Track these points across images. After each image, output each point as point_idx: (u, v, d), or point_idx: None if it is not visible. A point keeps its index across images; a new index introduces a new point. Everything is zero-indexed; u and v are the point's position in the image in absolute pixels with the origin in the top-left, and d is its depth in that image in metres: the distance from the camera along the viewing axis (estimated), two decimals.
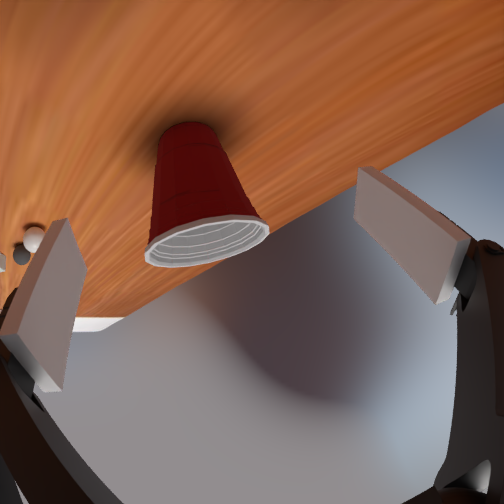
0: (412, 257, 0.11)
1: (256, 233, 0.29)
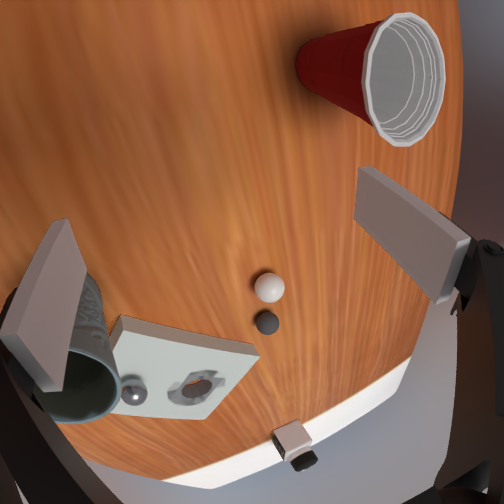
0: (412, 257, 0.11)
1: (433, 52, 0.19)
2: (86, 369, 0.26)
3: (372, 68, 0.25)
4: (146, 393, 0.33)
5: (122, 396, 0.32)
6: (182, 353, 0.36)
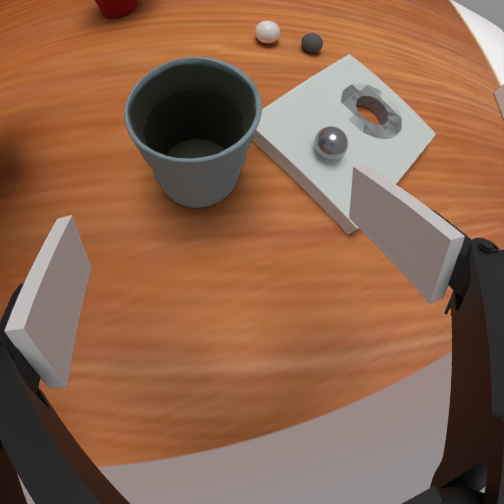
0: (406, 256, 0.11)
1: None
2: (241, 133, 0.27)
3: None
4: (331, 126, 0.30)
5: (326, 148, 0.29)
6: (306, 94, 0.33)
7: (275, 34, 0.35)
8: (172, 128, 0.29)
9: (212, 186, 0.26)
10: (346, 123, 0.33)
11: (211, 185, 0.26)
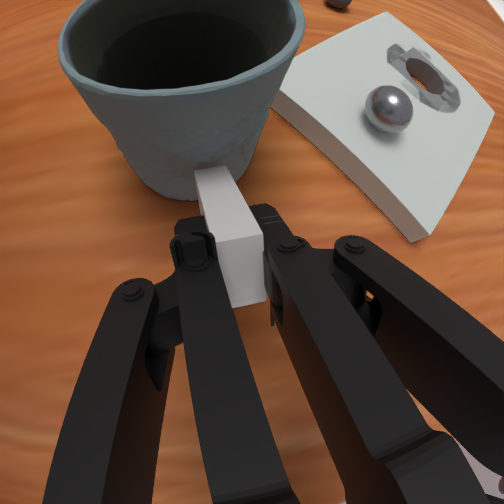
0: None
1: None
2: None
3: None
4: (388, 85, 0.18)
5: (386, 114, 0.18)
6: (342, 49, 0.22)
7: None
8: (151, 81, 0.18)
9: (214, 160, 0.15)
10: None
11: (212, 157, 0.14)
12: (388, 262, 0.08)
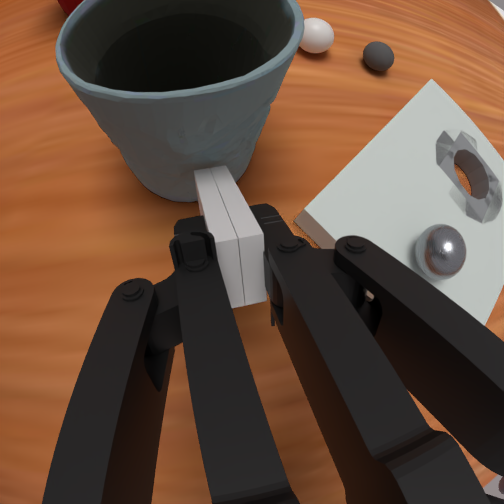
0: None
1: None
2: None
3: None
4: (444, 224, 0.17)
5: (439, 269, 0.16)
6: (391, 151, 0.20)
7: (328, 40, 0.22)
8: (143, 87, 0.18)
9: (224, 157, 0.15)
10: (447, 202, 0.20)
11: (223, 155, 0.14)
12: (388, 262, 0.08)
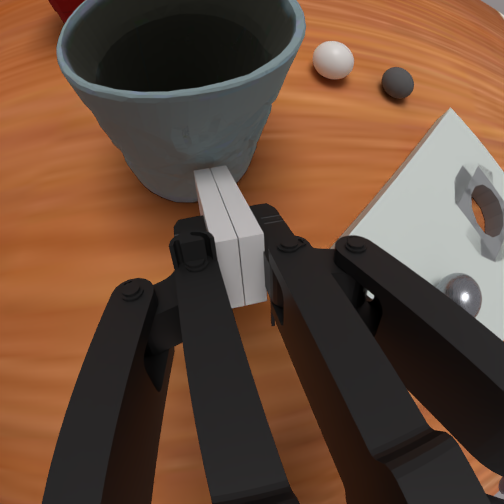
0: None
1: None
2: None
3: None
4: (463, 274, 0.16)
5: None
6: (412, 193, 0.20)
7: (348, 66, 0.22)
8: (143, 88, 0.18)
9: (227, 156, 0.15)
10: (463, 243, 0.20)
11: (226, 154, 0.14)
12: (389, 262, 0.08)
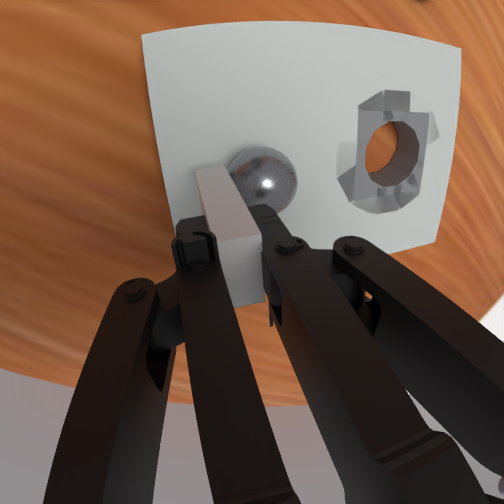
0: None
1: None
2: None
3: None
4: (288, 159, 0.15)
5: (247, 200, 0.14)
6: (310, 49, 0.14)
7: None
8: None
9: None
10: (326, 147, 0.17)
11: None
12: (387, 263, 0.08)
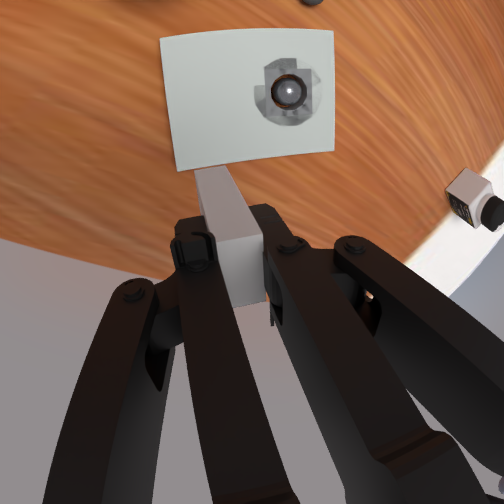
0: None
1: None
2: None
3: None
4: (297, 82, 0.33)
5: (277, 95, 0.34)
6: (236, 42, 0.29)
7: None
8: None
9: None
10: (247, 88, 0.32)
11: None
12: (388, 263, 0.08)
